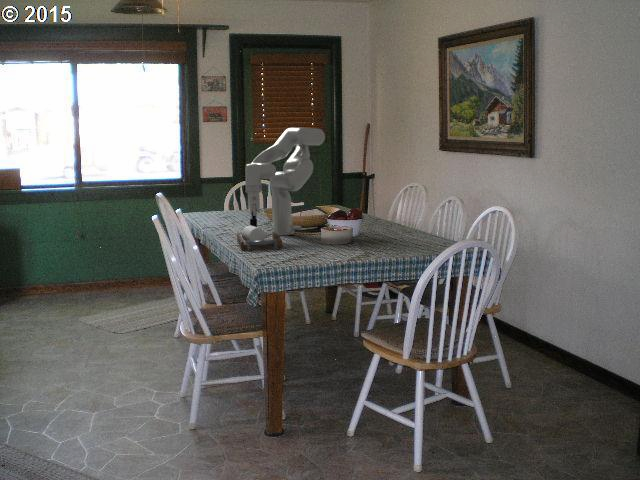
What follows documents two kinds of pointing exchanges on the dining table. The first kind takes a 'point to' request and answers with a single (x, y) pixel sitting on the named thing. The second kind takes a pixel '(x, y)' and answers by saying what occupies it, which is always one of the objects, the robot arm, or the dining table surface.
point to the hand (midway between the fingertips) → (253, 227)
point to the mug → (254, 233)
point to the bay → (260, 243)
